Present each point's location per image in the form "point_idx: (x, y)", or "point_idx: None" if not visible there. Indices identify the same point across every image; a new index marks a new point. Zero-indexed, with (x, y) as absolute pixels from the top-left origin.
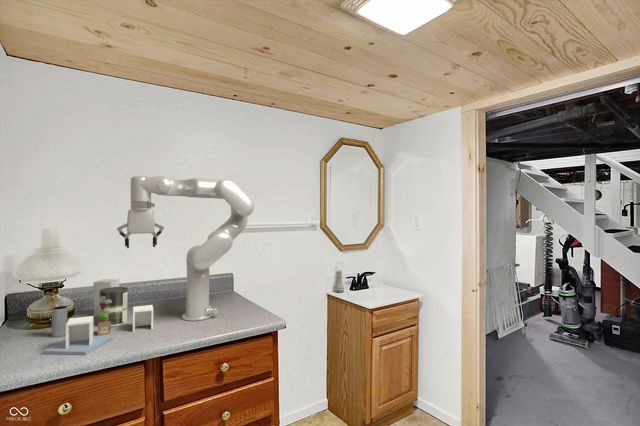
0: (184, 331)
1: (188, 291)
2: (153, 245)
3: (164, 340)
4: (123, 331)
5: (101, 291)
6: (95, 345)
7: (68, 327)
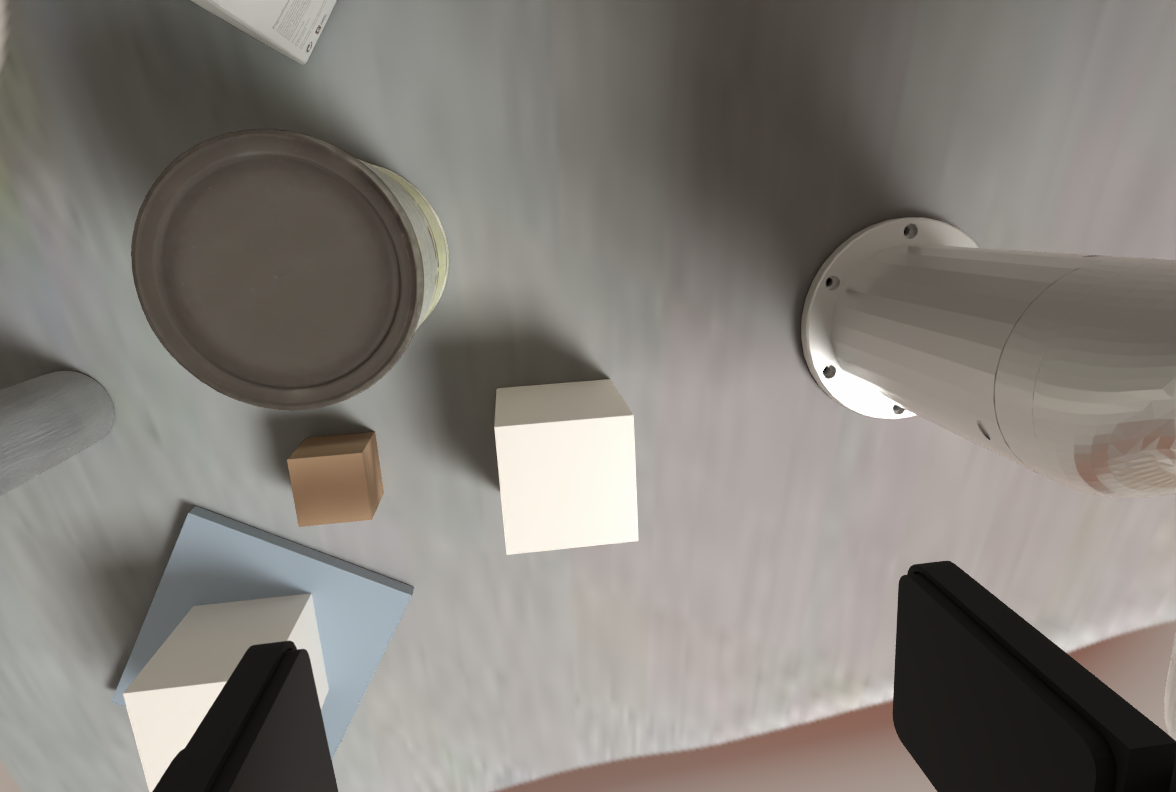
0: (772, 579)
1: (946, 407)
2: (916, 752)
3: (666, 679)
4: (452, 467)
5: (171, 346)
6: (352, 700)
7: None
